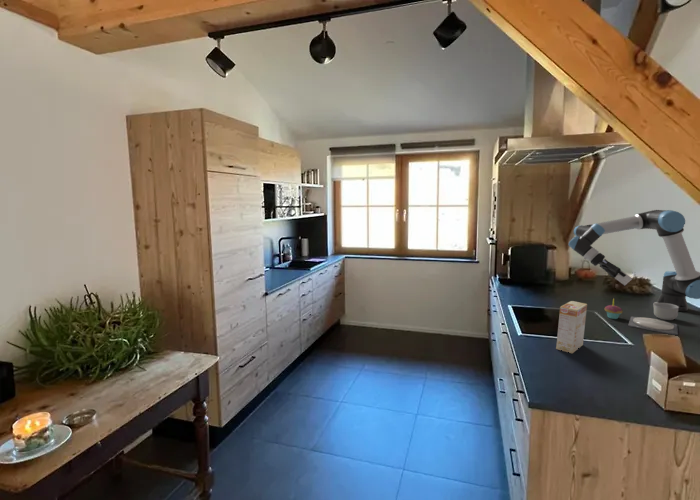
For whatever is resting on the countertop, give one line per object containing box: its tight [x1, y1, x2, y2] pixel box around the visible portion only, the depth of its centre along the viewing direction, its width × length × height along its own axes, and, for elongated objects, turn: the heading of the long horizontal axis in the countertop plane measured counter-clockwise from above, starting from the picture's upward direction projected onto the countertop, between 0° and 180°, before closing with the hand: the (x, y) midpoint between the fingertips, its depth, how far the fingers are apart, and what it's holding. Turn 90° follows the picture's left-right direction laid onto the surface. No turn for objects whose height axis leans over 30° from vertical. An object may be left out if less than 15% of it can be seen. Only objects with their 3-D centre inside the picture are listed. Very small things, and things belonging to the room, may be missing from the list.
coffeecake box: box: [555, 300, 588, 354], centre depth 170 cm, size 15×7×20 cm, turn 133°
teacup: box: [652, 301, 679, 321], centre depth 217 cm, size 14×11×8 cm
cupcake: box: [604, 297, 623, 320], centre depth 215 cm, size 9×8×12 cm
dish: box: [627, 316, 679, 336], centre depth 203 cm, size 20×20×2 cm
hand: (628, 282), depth 212 cm, fingers open, 13 cm apart
